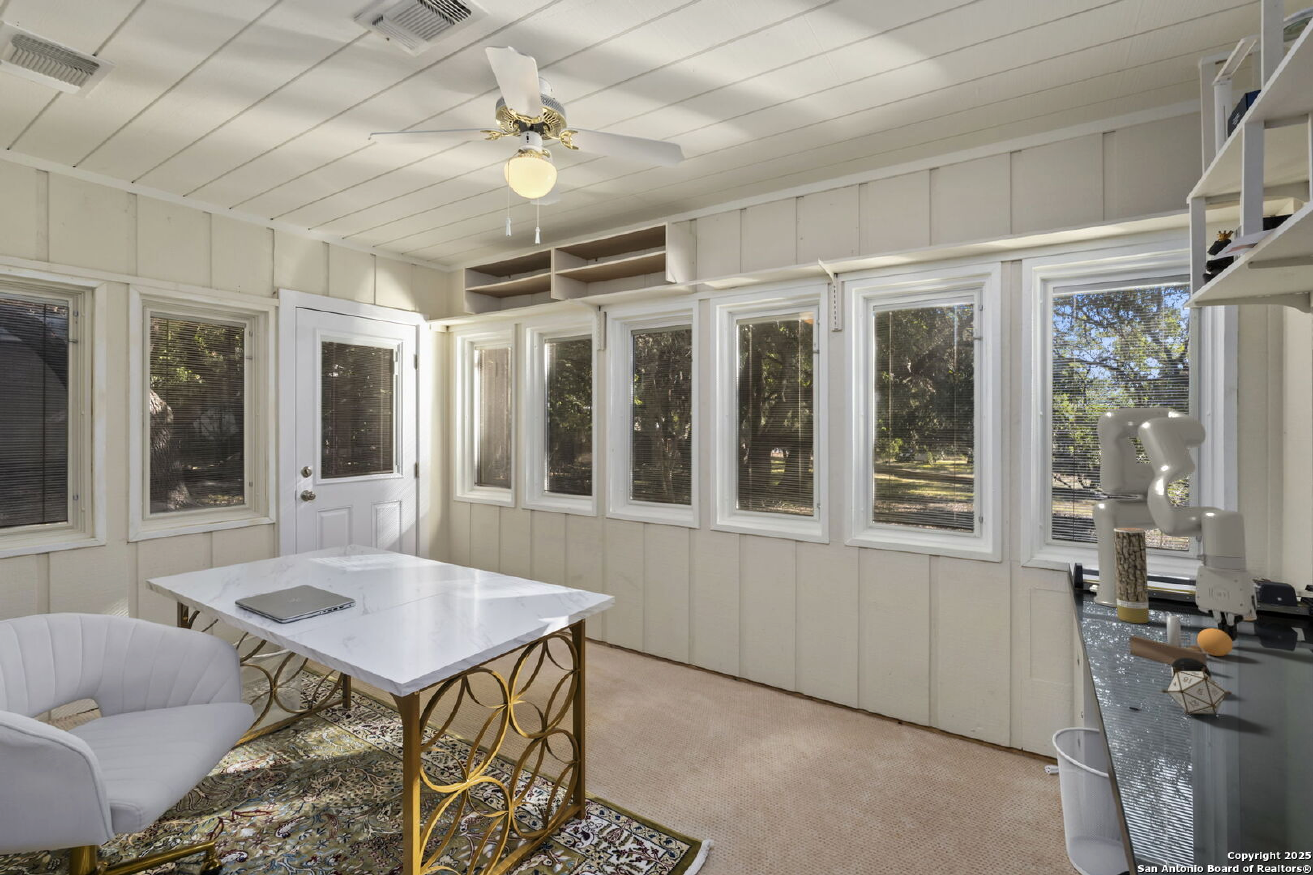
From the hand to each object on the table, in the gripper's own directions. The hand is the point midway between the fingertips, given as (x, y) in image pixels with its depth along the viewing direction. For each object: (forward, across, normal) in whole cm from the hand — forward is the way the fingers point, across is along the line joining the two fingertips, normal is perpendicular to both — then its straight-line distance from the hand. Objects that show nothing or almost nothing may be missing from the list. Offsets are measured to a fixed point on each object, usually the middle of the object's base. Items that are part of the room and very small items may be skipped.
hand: (1227, 640), depth 146 cm
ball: (-2, +2, -10) cm, 10 cm away
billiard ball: (+2, +11, -36) cm, 38 cm away
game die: (+2, +18, -49) cm, 52 cm away
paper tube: (+2, -23, +4) cm, 23 cm away
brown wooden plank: (+2, 0, -24) cm, 24 cm away
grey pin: (+2, -2, -16) cm, 17 cm away
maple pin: (0, 0, -13) cm, 13 cm away
